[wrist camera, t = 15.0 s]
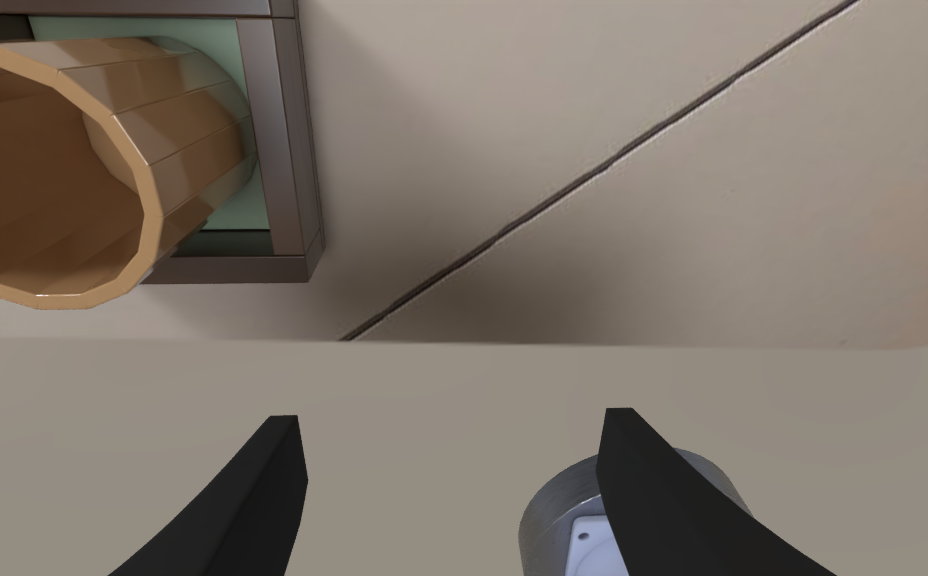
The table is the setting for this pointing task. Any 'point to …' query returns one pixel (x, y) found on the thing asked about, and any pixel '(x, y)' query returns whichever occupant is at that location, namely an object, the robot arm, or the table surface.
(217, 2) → the cup holder
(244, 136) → the paper cup
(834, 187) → the table surface
